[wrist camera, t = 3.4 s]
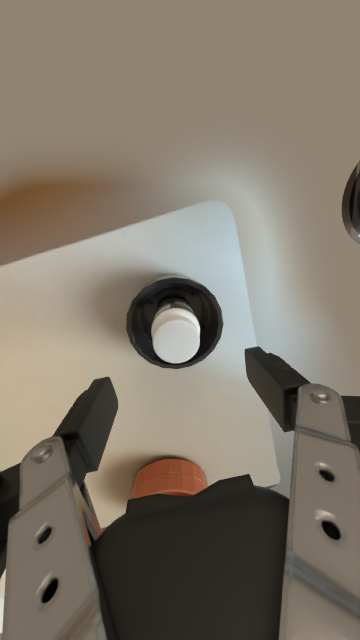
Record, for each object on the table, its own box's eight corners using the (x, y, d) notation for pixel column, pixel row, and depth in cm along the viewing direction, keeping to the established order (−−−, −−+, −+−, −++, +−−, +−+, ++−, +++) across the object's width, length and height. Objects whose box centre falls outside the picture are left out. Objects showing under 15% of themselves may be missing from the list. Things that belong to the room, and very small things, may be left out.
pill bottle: (200, 315, 23) (216, 343, 15) (173, 339, 24) (176, 377, 16) (174, 288, 22) (178, 303, 14) (147, 314, 23) (136, 342, 15)
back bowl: (199, 448, 31) (205, 481, 27) (210, 497, 35) (217, 533, 31) (124, 463, 31) (116, 500, 27) (143, 510, 35) (139, 549, 31)
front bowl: (206, 266, 22) (216, 268, 17) (216, 340, 25) (227, 358, 21) (125, 283, 22) (113, 289, 17) (145, 355, 25) (140, 376, 21)
